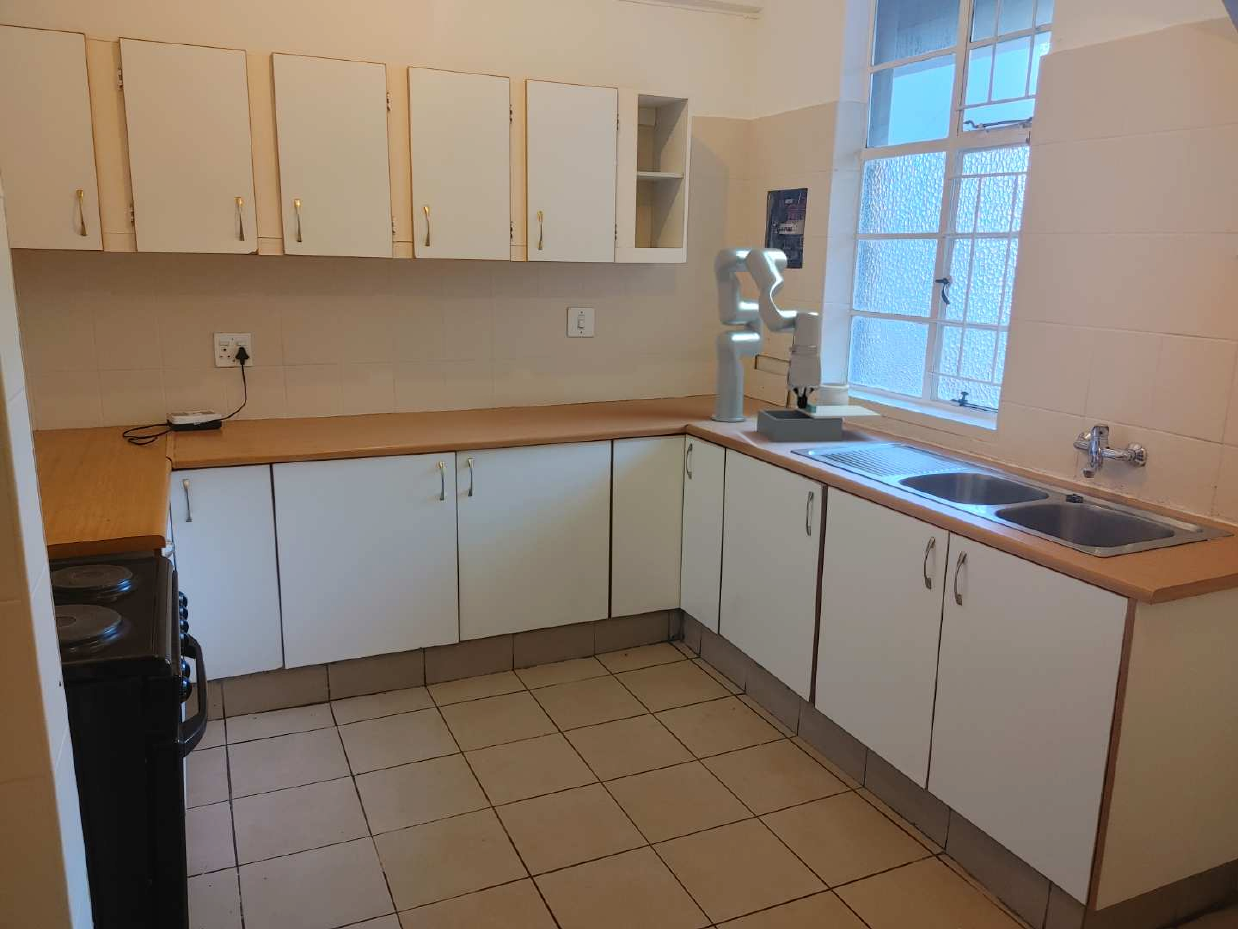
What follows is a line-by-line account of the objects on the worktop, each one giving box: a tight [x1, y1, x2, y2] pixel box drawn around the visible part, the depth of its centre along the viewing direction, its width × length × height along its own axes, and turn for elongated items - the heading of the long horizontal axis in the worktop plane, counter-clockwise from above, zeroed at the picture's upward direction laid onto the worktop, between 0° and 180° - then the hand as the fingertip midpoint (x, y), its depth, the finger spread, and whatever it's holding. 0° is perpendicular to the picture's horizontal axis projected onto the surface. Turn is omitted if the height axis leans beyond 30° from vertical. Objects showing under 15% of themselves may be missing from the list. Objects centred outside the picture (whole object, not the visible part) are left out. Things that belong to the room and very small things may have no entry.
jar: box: [816, 382, 850, 428], centre depth 313 cm, size 11×10×15 cm
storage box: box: [756, 409, 844, 443], centre depth 295 cm, size 18×22×8 cm
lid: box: [794, 401, 882, 419], centre depth 295 cm, size 18×22×3 cm
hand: (801, 408), depth 293 cm, fingers closed
